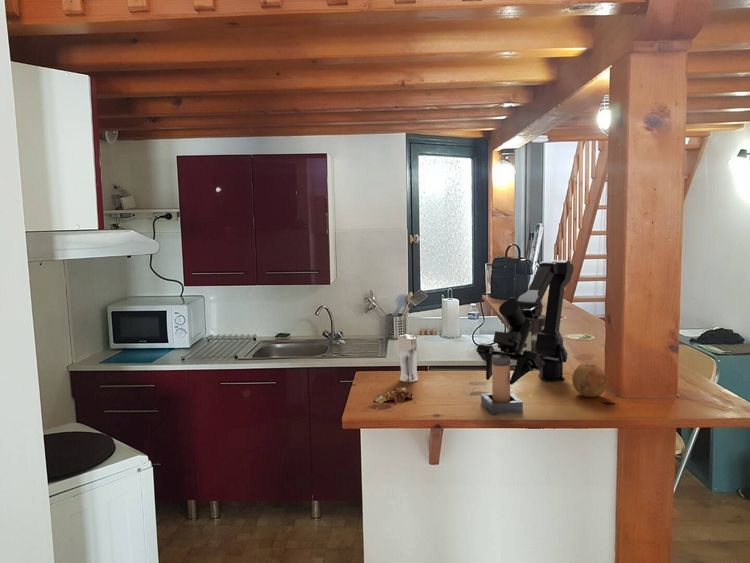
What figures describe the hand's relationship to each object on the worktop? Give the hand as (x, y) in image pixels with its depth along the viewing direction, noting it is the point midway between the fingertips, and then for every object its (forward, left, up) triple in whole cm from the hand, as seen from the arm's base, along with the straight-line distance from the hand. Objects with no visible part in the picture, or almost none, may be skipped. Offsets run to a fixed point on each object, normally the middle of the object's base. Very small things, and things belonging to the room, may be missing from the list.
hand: (498, 381), depth 157 cm
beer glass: (+19, -33, -8) cm, 40 cm away
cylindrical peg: (-1, -1, -8) cm, 8 cm away
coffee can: (-35, -57, -8) cm, 67 cm away
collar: (-1, -1, -8) cm, 8 cm away
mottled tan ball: (-30, -4, -8) cm, 31 cm away
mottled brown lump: (+28, -16, -9) cm, 33 cm away
